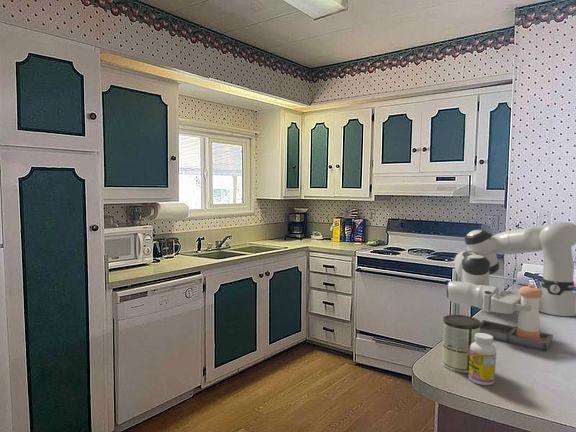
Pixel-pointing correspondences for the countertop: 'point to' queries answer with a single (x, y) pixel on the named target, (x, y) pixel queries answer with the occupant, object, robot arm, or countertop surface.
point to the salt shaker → (529, 314)
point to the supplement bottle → (482, 359)
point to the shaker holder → (514, 335)
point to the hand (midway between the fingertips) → (533, 305)
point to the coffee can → (458, 341)
